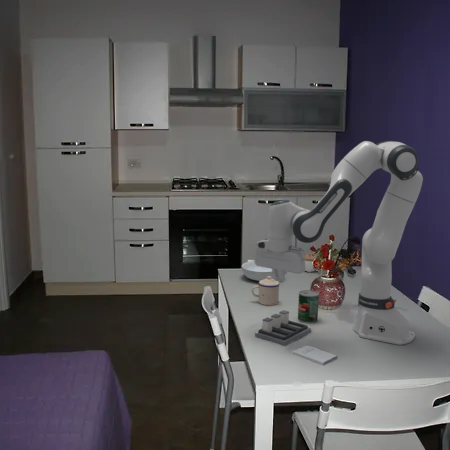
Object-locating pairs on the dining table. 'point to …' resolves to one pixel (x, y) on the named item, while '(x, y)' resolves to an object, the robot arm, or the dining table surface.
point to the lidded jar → (309, 262)
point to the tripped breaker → (267, 324)
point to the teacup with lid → (268, 291)
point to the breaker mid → (276, 320)
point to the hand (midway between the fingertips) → (279, 281)
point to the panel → (284, 333)
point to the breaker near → (284, 316)
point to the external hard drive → (315, 355)
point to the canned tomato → (308, 306)
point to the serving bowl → (257, 271)
